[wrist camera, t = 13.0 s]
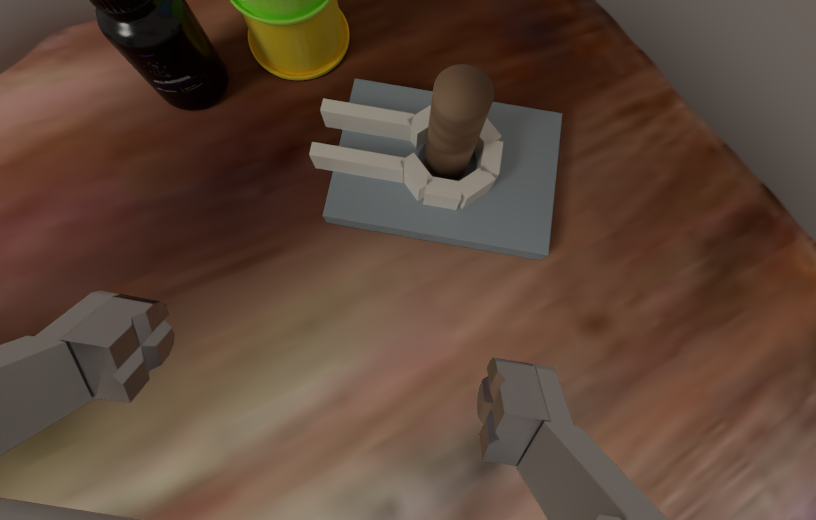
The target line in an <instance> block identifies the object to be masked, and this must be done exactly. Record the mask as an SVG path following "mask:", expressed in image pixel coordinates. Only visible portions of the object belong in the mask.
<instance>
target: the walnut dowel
mask: <svg viewBox="0 0 816 520" xmlns="http://www.w3.org/2000/svg"><path fill="white" fill-rule="evenodd" d="M494 95H495V90H494V85H493V83H492V81H491V79H490V77H489V76H488V75H487V74H486V73H485V72H484V71H483V70H481V69H479V68H477V67H475V66H472V65H468V64H458V65H453V66H450V67H448V68H446V69H445V70H443V71H442V72H441V73H440V74H439V75H438V76H437V78H436V80H435V82H434V87H433V94H432V102H431V110H430V117H429V125H428V133H427V140H426V148H425V155H424V166H425V168H426V169H427V170H428V172H429V173H430V174H431V176H432V177H438V178H444V179H449V180H455V181H457V180H458V179H460V178H461V177H462V176H463V175H464V174H465V172H466V170H467V167H468V164H469V162H470V159H471V157H472V154H473V152H474V149H475V146H476V144H477V141H478V139H479V136H480V133H481V131H482V128H483V126H484V123H485V121H486V118H487V115H488V113H489V110H490V108H491V105H492V102H493V100H494Z"/></svg>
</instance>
